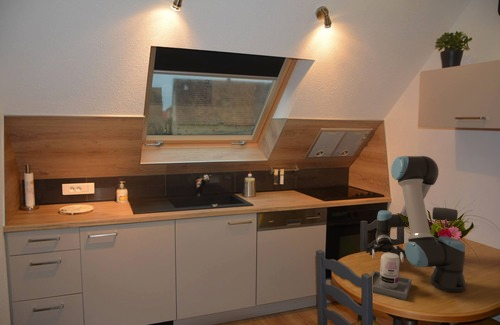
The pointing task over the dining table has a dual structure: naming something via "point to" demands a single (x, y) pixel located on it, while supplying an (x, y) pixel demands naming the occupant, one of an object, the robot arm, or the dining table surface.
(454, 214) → the rubber mallet
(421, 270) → the dining table surface
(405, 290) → the tray
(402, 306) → the dining table surface
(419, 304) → the dining table surface
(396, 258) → the supplement can
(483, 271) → the dining table surface
